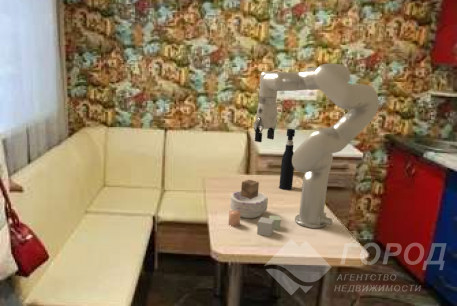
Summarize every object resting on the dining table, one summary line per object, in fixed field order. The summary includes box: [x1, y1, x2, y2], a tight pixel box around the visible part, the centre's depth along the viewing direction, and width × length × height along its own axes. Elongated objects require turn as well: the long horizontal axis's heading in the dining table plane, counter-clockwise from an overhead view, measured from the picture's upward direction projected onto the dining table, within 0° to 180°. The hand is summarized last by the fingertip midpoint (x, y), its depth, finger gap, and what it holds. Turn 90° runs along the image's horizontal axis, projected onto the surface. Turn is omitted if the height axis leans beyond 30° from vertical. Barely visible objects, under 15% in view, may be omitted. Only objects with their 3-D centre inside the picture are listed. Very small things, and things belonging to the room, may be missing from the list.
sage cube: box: [268, 215, 281, 230], centre depth 162 cm, size 4×4×4 cm
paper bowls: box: [229, 190, 269, 219], centre depth 173 cm, size 15×15×8 cm
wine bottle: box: [278, 128, 296, 191], centre depth 209 cm, size 6×6×30 cm
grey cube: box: [256, 216, 275, 237], centre depth 156 cm, size 5×5×5 cm
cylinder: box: [228, 209, 241, 228], centre depth 162 cm, size 4×4×5 cm
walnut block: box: [240, 179, 260, 199], centre depth 172 cm, size 5×5×6 cm
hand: (264, 140), depth 183 cm, fingers open, 9 cm apart
